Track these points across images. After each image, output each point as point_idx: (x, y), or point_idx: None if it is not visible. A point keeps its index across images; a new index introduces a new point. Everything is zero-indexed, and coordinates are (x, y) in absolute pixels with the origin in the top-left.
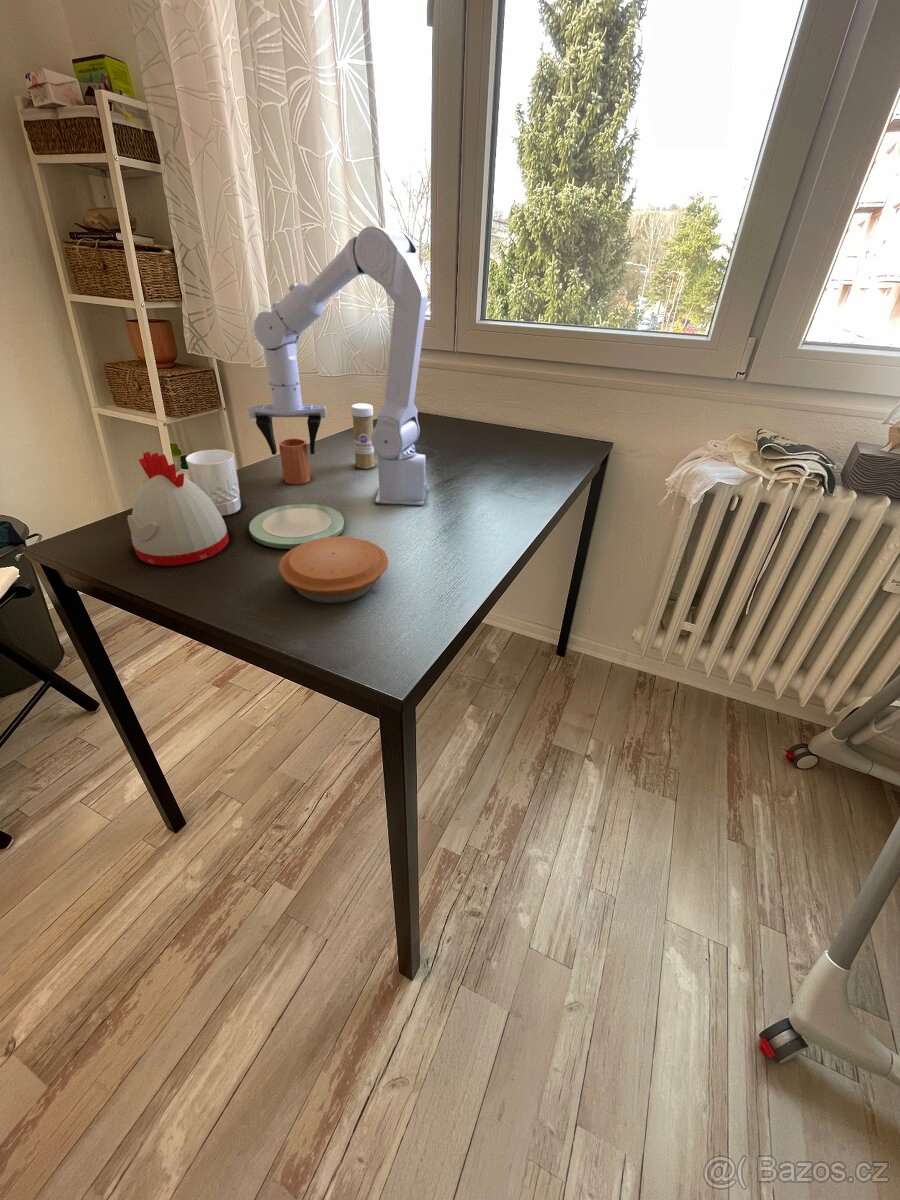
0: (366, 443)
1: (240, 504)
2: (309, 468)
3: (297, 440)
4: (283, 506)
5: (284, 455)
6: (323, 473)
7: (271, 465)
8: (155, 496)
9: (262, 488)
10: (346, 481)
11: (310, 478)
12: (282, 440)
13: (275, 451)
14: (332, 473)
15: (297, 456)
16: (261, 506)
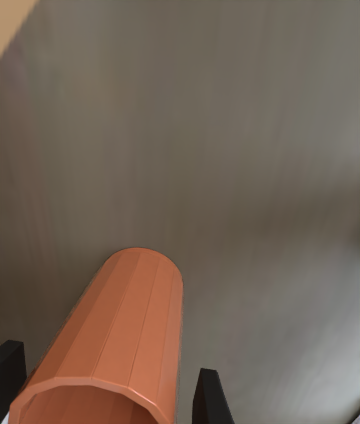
0: None
1: (7, 416)
2: (182, 319)
3: (121, 382)
4: None
5: (69, 407)
6: (236, 247)
7: (29, 111)
8: None
9: (39, 322)
10: (295, 328)
11: (183, 291)
12: (23, 400)
13: (17, 382)
14: (268, 254)
15: (129, 420)
16: None
